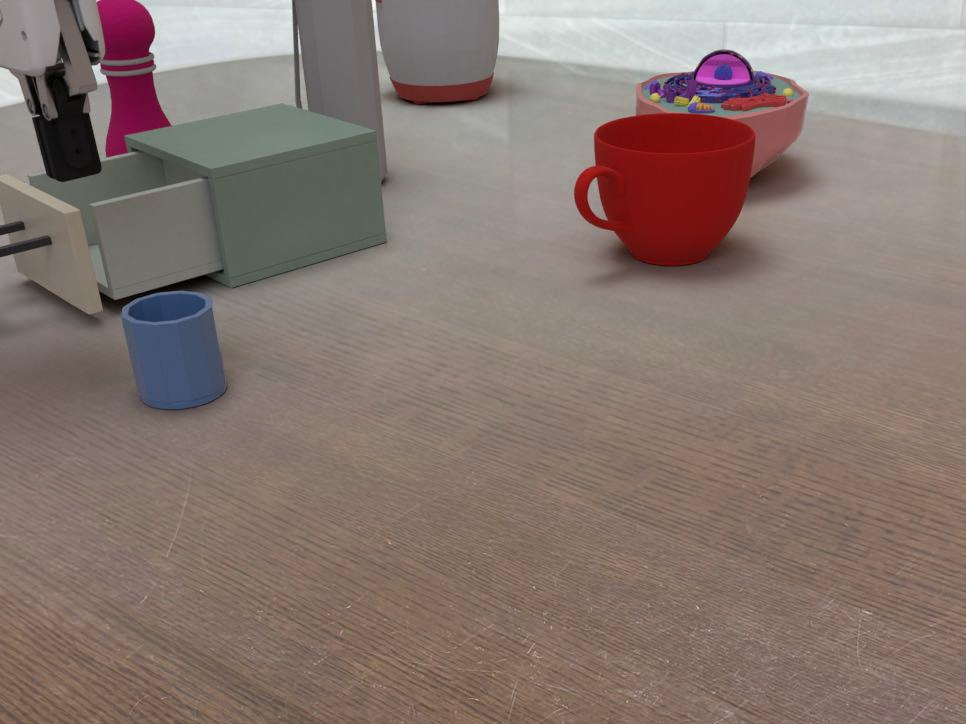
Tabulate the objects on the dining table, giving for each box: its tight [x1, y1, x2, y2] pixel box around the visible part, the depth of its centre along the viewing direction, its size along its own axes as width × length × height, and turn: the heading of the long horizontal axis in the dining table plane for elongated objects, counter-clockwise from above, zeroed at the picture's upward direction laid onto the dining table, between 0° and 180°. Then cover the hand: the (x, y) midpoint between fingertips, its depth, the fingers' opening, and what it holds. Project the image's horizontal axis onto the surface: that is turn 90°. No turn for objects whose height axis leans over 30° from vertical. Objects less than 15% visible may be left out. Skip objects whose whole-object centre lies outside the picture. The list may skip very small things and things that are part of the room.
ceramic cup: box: [573, 113, 755, 267], centre depth 98 cm, size 13×17×10 cm
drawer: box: [0, 151, 224, 316], centre depth 95 cm, size 20×13×8 cm, turn 132°
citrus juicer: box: [374, 0, 500, 105], centre depth 148 cm, size 16×17×20 cm
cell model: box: [635, 48, 810, 179], centre depth 118 cm, size 17×20×11 cm
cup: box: [120, 290, 228, 410], centre depth 80 cm, size 6×6×6 cm
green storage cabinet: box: [124, 102, 387, 289], centre depth 104 cm, size 16×15×10 cm
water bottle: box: [291, 0, 388, 182], centre depth 115 cm, size 9×8×25 cm
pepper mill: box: [96, 0, 173, 158], centre depth 112 cm, size 7×7×20 cm
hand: (75, 175), depth 81 cm, fingers closed
